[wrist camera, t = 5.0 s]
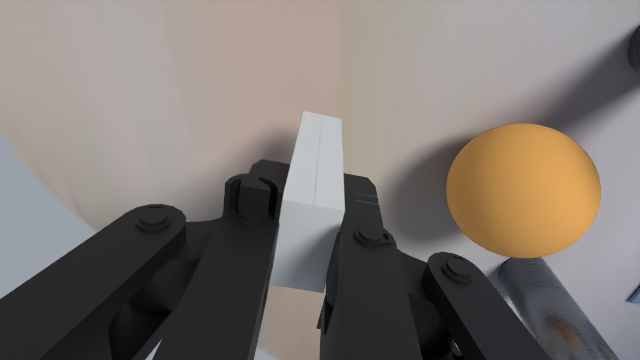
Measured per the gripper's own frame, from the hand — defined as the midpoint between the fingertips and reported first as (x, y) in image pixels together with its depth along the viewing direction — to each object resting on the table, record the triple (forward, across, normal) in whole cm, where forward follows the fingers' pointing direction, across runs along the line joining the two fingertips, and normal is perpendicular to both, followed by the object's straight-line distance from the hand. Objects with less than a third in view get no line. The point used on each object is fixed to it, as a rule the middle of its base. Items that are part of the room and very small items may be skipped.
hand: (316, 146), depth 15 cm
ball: (0, +8, 0) cm, 9 cm away
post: (+2, +13, -6) cm, 15 cm away
